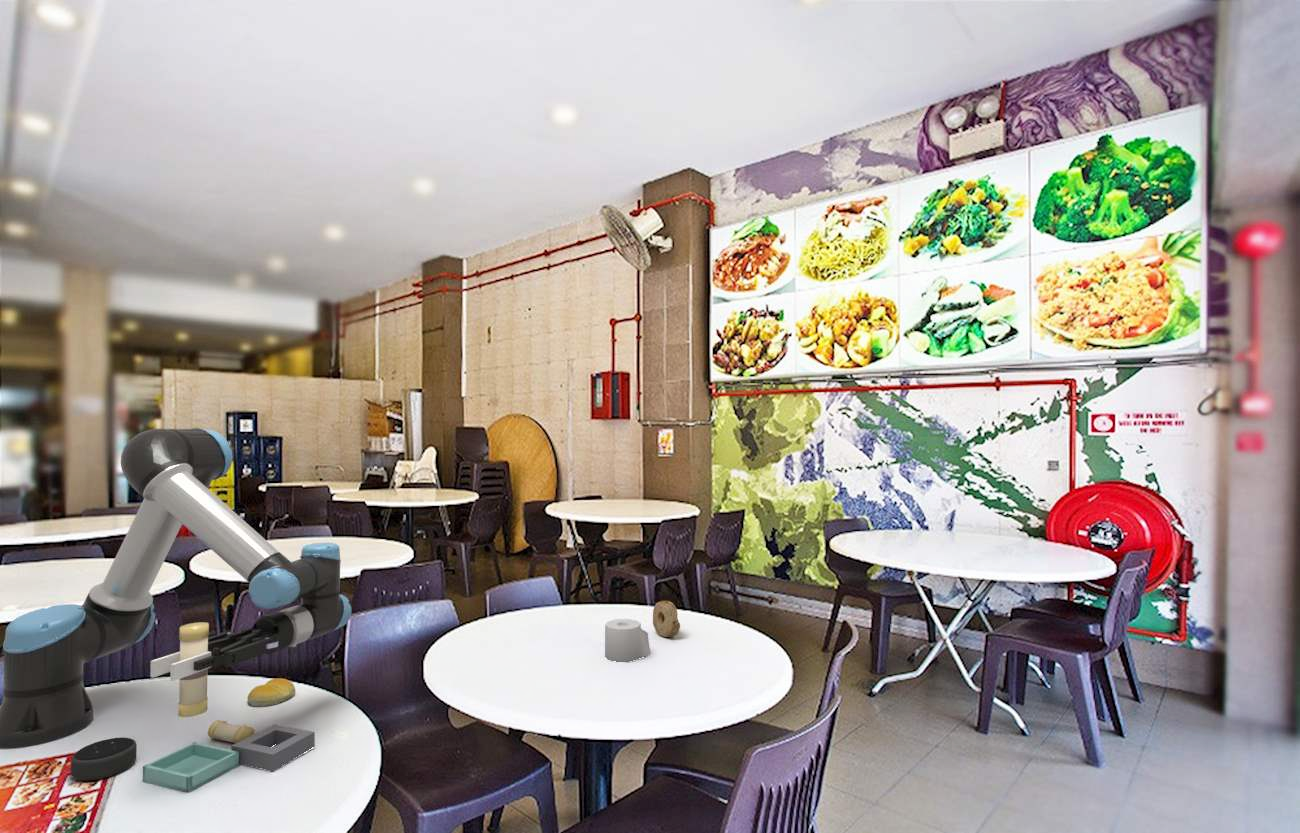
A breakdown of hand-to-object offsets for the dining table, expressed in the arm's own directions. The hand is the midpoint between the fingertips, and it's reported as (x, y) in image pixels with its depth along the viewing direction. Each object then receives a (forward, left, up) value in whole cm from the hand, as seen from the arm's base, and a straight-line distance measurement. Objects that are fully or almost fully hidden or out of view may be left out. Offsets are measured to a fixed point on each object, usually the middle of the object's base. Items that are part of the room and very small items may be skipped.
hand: (162, 670), depth 108 cm
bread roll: (-14, +34, -20) cm, 42 cm away
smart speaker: (-16, +1, -20) cm, 26 cm away
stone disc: (+56, +104, -20) cm, 120 cm away
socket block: (+8, +15, -20) cm, 26 cm away
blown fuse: (0, +5, -9) cm, 10 cm away
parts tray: (0, +5, -20) cm, 20 cm away
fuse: (-5, +16, -20) cm, 26 cm away
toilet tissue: (+51, +85, -20) cm, 102 cm away
